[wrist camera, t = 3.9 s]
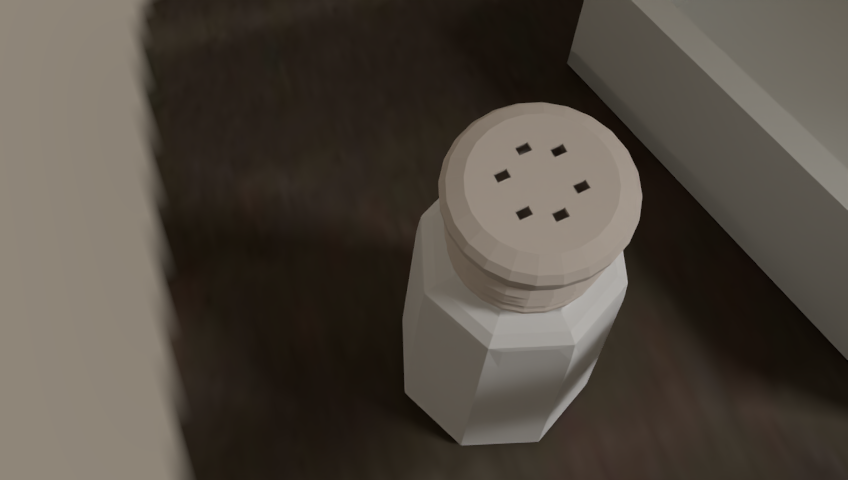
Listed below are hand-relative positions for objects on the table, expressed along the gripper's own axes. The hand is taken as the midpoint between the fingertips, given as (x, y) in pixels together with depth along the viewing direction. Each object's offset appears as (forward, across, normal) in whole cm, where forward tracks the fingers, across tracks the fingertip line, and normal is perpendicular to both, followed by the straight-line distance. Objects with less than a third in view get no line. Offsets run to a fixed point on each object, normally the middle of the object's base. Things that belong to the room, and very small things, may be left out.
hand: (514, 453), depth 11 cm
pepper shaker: (+8, +1, -4) cm, 9 cm away
